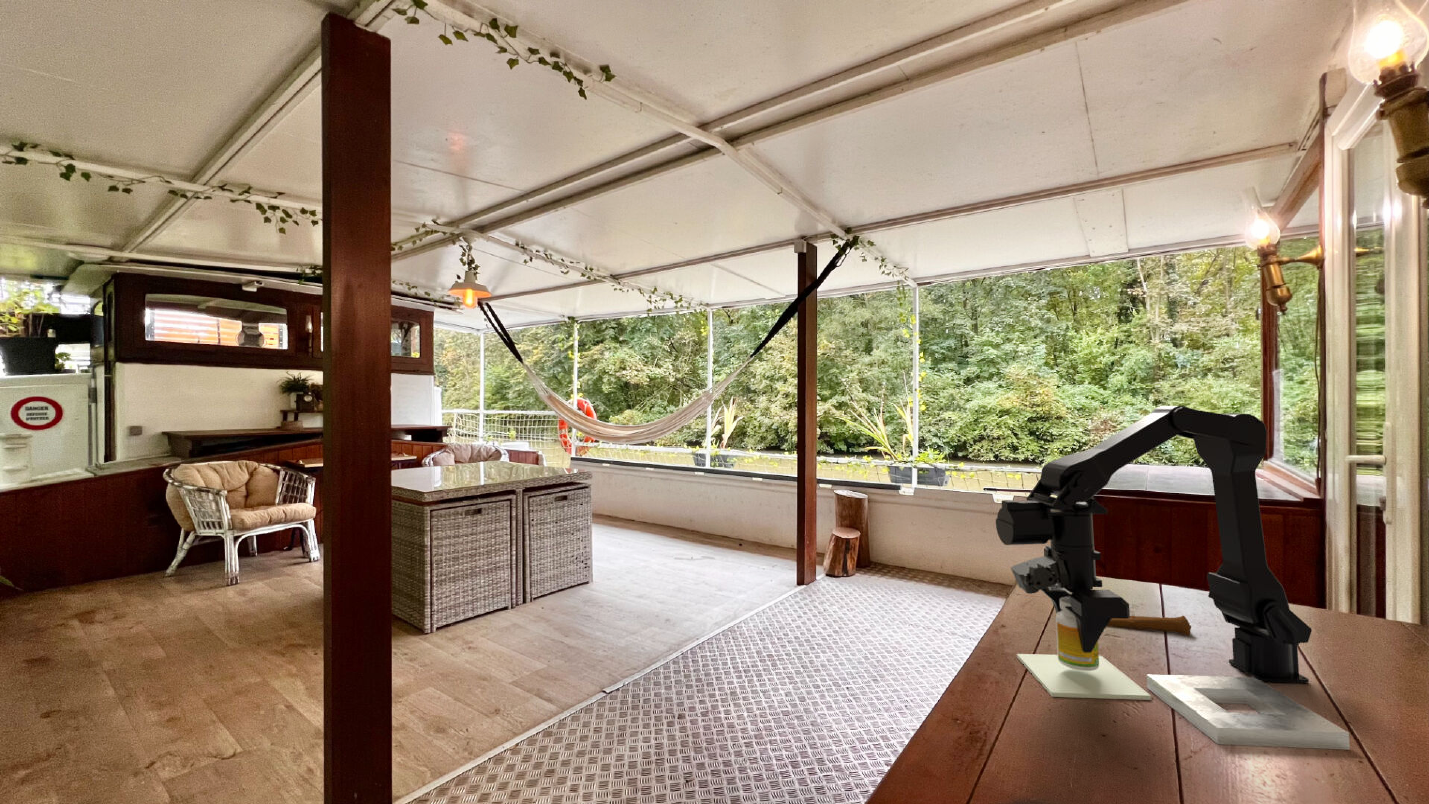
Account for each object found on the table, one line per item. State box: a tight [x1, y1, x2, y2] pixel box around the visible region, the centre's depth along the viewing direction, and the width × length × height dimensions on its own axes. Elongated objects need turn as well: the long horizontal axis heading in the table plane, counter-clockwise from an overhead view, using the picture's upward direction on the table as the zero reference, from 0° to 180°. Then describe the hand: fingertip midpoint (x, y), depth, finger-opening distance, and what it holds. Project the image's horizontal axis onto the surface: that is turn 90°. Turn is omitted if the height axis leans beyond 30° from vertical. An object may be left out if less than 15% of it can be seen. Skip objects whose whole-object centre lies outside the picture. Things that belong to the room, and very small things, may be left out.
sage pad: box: [1016, 653, 1152, 701], centre depth 87 cm, size 13×13×1 cm
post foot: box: [1146, 674, 1351, 751], centre depth 75 cm, size 14×14×2 cm
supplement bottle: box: [1055, 597, 1100, 671], centre depth 87 cm, size 5×5×10 cm
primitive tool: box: [1106, 615, 1192, 637], centre depth 106 cm, size 19×6×4 cm, turn 60°
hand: (1077, 644), depth 87 cm, fingers closed on supplement bottle, 5 cm apart
